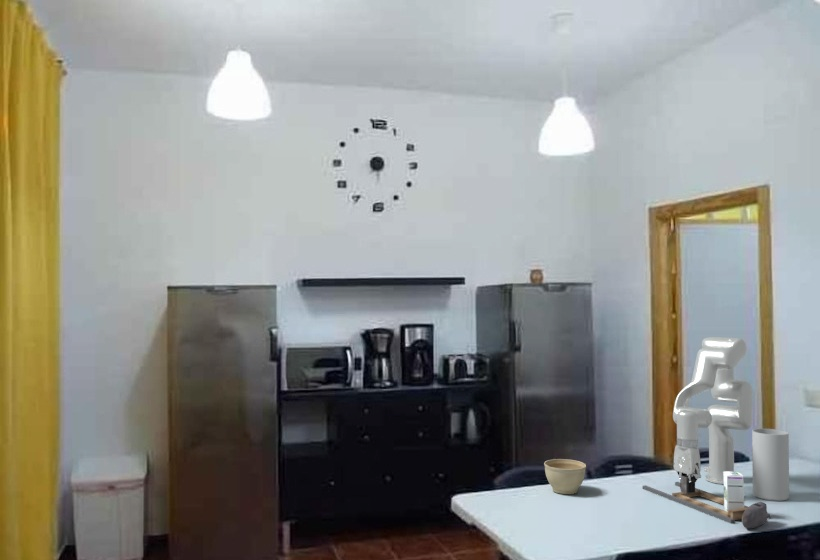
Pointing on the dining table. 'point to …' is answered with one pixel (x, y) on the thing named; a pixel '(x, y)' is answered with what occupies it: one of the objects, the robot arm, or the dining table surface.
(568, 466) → the planter bowl
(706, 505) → the frame
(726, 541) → the dining table surface
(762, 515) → the perforated stone tool
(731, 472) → the syrup box
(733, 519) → the guide rails
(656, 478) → the dining table surface
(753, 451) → the cylinder vase
